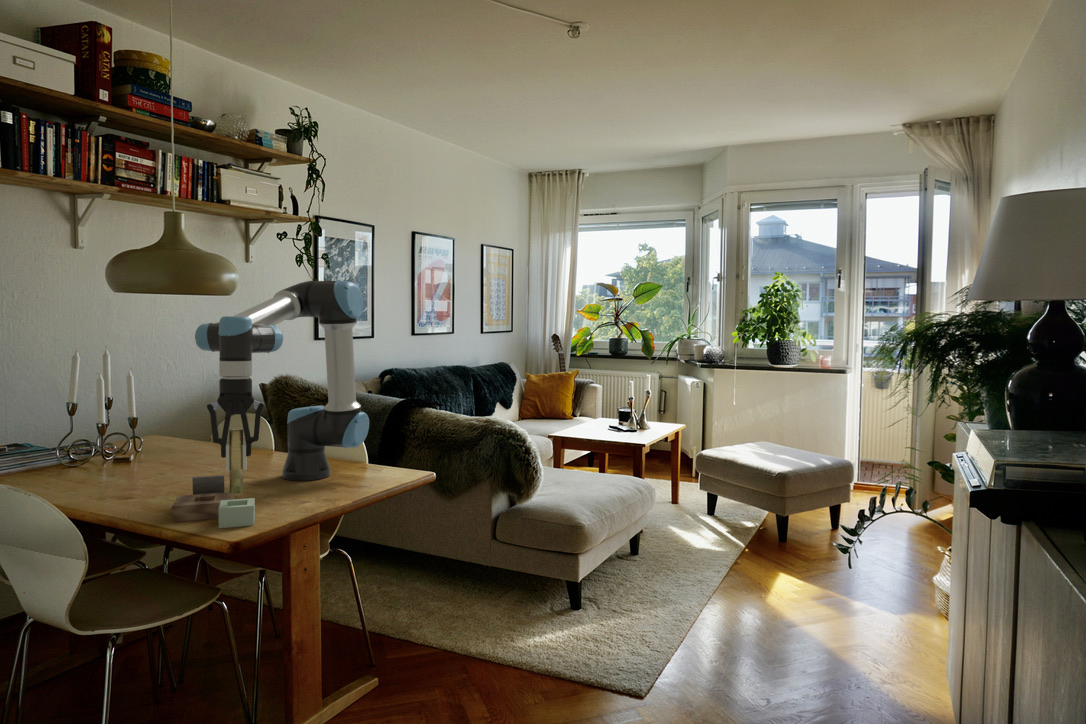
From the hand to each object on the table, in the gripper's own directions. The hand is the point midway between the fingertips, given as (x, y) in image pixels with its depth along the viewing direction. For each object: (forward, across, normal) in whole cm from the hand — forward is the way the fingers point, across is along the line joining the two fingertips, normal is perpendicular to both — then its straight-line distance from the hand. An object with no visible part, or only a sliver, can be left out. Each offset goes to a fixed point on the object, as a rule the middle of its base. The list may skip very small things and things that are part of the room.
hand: (236, 469), depth 174 cm
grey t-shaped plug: (+13, +8, -18) cm, 24 cm away
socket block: (+14, +8, -11) cm, 20 cm away
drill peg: (+6, 0, 0) cm, 6 cm away
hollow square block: (+14, 0, 0) cm, 14 cm away
